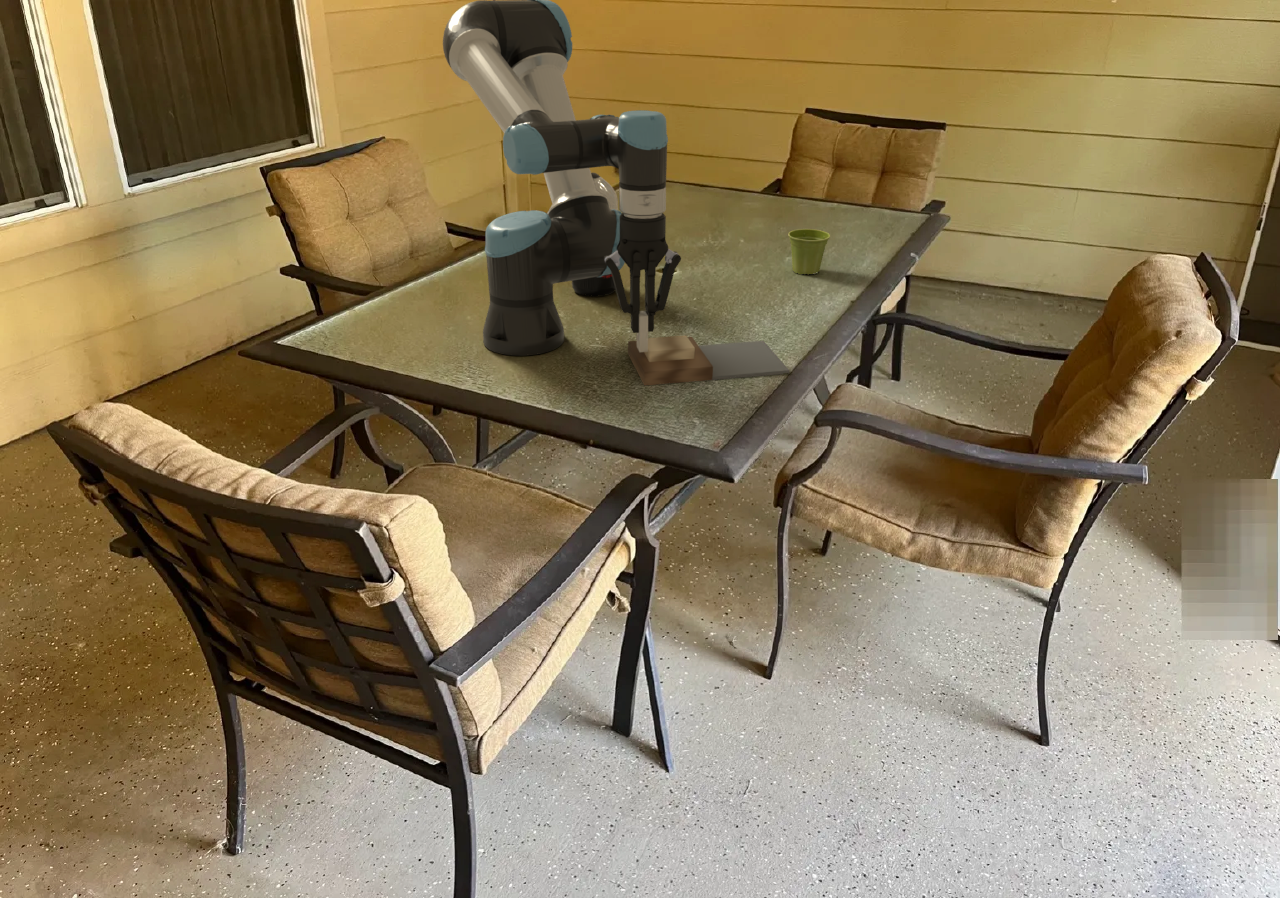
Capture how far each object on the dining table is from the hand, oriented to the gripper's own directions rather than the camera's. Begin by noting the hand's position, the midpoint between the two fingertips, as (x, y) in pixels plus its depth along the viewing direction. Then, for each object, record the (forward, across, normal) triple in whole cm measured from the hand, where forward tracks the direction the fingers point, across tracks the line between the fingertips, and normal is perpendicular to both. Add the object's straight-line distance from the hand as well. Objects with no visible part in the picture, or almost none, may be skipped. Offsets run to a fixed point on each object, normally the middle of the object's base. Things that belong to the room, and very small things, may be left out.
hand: (642, 348), depth 158 cm
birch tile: (+1, +5, 0) cm, 5 cm away
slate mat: (+4, +18, +1) cm, 18 cm away
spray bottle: (+4, -2, +44) cm, 44 cm away
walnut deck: (+4, +5, +1) cm, 6 cm away
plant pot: (+4, +48, +48) cm, 68 cm away
